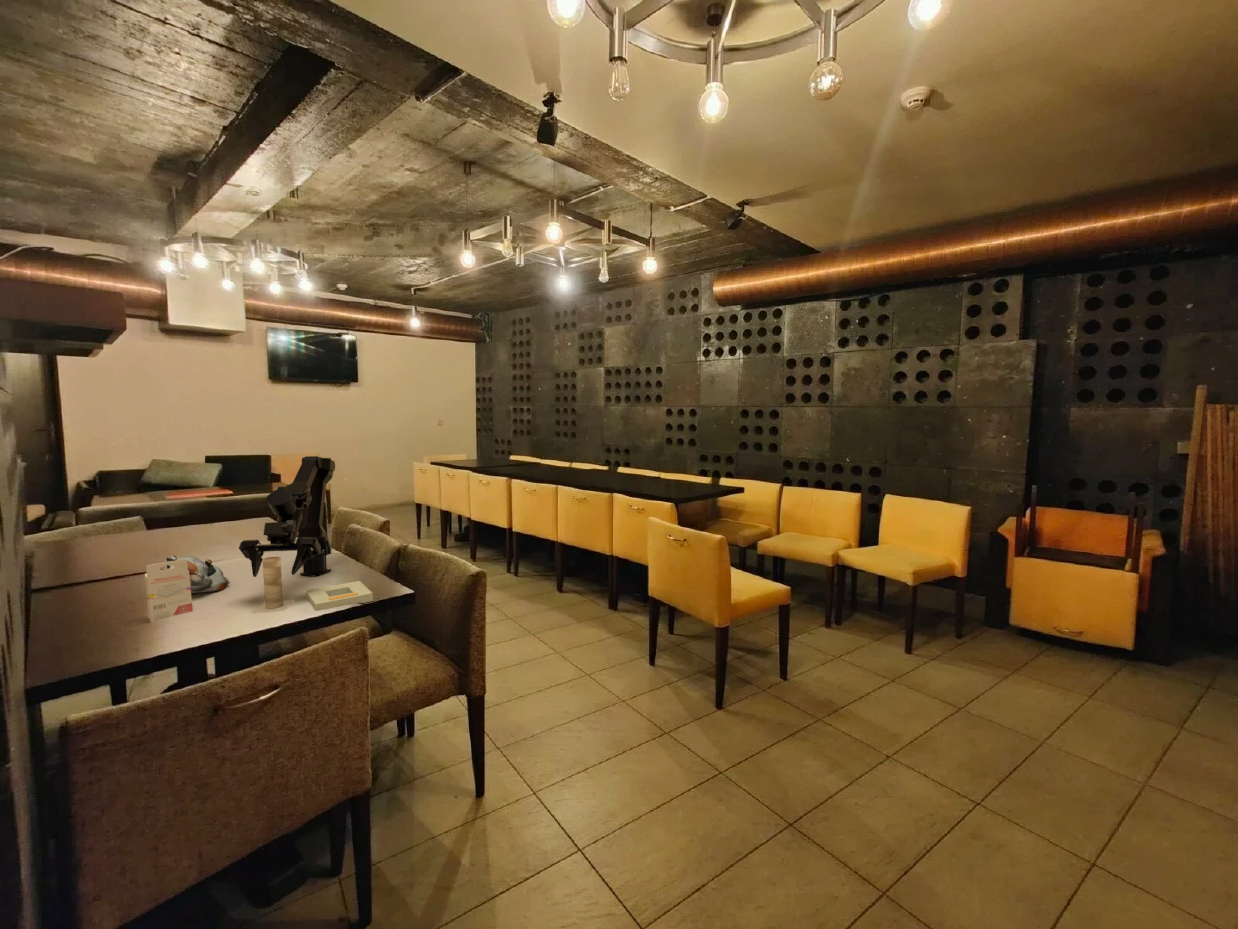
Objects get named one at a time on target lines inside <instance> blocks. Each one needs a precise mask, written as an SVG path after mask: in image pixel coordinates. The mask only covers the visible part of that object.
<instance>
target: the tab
mask: <svg viewBox="0 0 1238 929" xmlns="http://www.w3.org/2000/svg"><path fill="white" fill-rule="evenodd" d="M295 602H297V599H294V600H293V599H291V600H283V606H281V607H279V608H274V609H266V608H265V601H264V602H262V603H261V604H260V605H258V606H257V607H256V608H255V609H253V610H252V611H251V612H250V613H251V614H253V613H254V614H255V613H270V612H271V613H272V612H283V611H286V610H288V609H289V608H290V607H291V606H292V605H293V604H294V603H295Z"/></svg>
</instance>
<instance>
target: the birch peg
mask: <svg viewBox="0 0 1238 929" xmlns="http://www.w3.org/2000/svg"><path fill="white" fill-rule="evenodd" d="M262 559H263V560H262V571H263V585H264V586H263V589H264V602H265V608H266V609H274V608H279V607H281V606H283V601H284V597H283V596H284V594H283V579H282V578H283V577H282V559H281V557H280V556H268V557H265V558H262Z"/></svg>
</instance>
